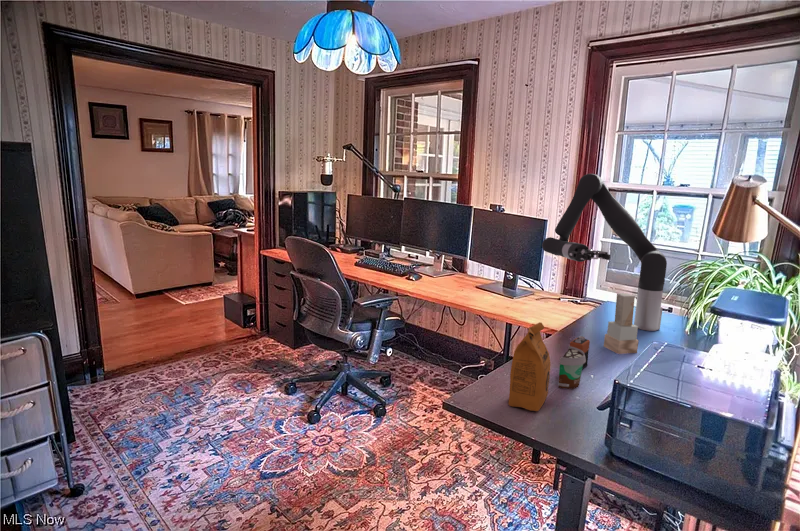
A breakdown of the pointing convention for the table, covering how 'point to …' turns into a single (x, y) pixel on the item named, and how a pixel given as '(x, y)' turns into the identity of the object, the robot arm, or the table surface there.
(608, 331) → the tower top
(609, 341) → the block
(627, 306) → the box
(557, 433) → the table surface
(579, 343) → the battery
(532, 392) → the coffee package
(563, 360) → the food container
